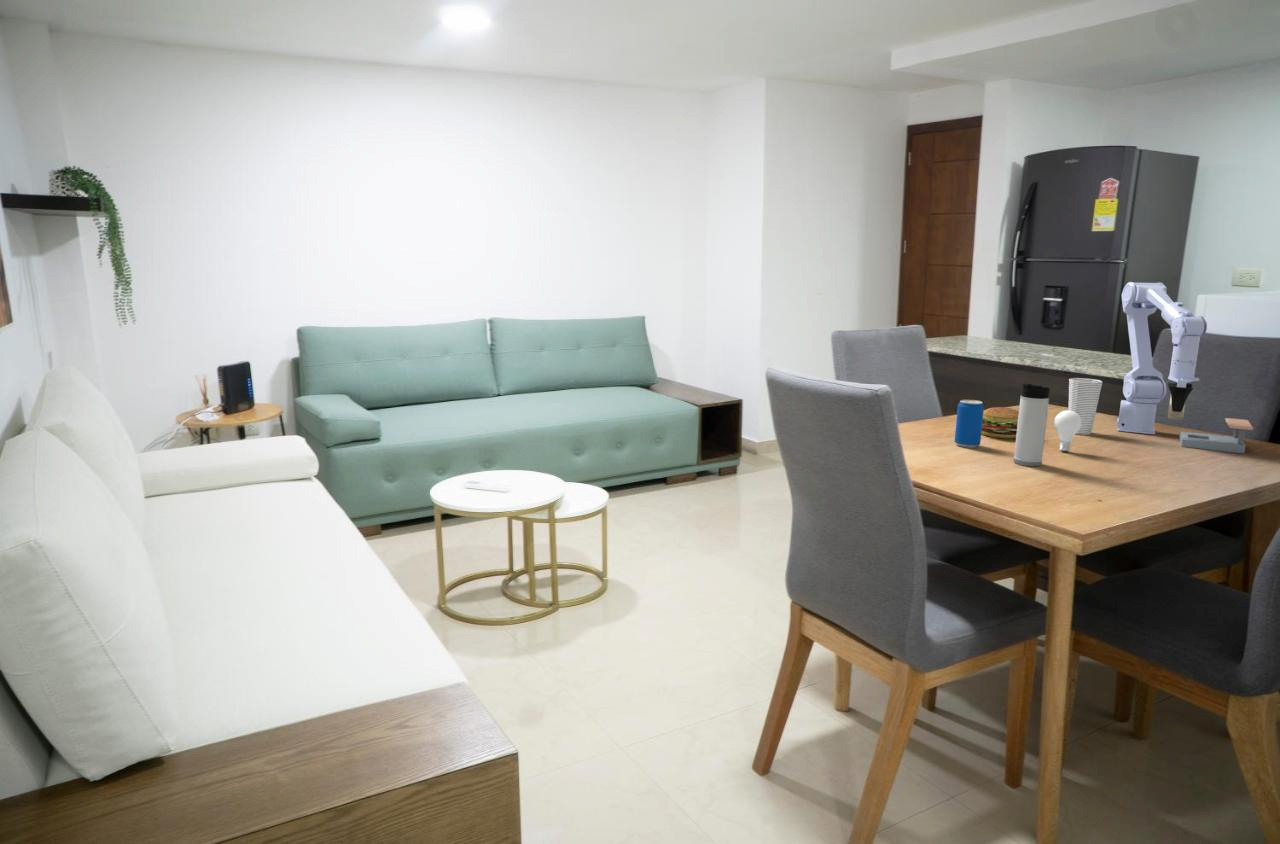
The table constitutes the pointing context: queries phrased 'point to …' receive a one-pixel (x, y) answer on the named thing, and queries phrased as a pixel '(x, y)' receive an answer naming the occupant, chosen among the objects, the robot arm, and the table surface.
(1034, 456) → the travel mug
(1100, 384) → the cup
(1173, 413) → the peg
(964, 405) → the beverage can
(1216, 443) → the socket station
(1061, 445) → the lightbulb
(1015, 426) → the food
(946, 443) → the table surface
